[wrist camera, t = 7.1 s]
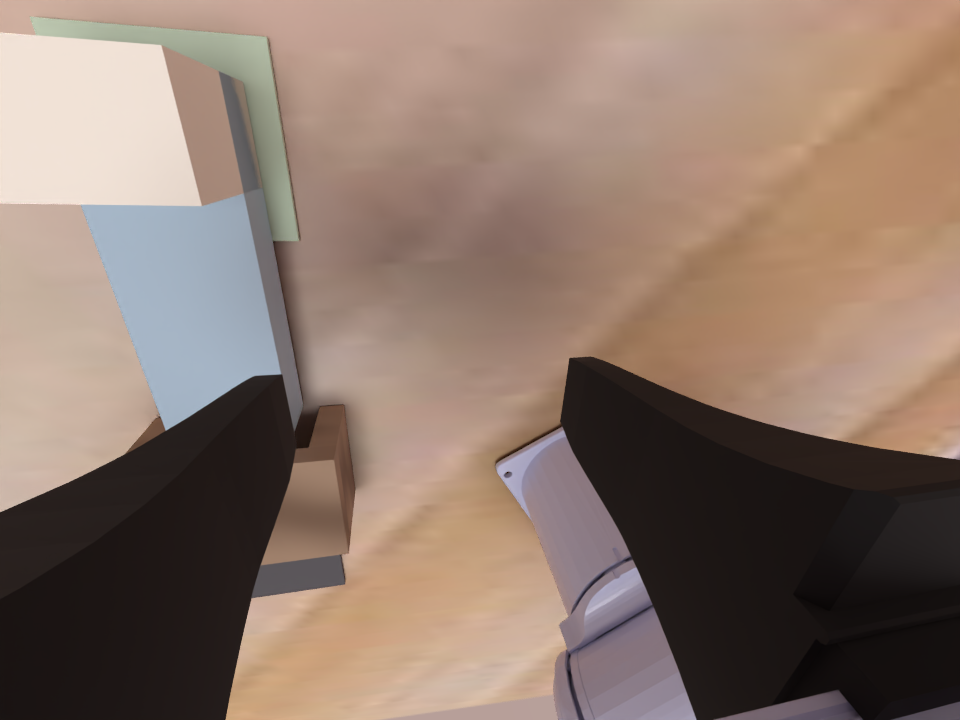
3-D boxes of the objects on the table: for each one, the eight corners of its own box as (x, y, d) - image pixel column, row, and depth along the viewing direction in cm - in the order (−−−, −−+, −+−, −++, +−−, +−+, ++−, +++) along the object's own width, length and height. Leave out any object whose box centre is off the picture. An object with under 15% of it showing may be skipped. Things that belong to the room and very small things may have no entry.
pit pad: (345, 580, 28) (345, 584, 28) (248, 595, 27) (247, 598, 26) (334, 516, 25) (334, 519, 25) (226, 529, 24) (225, 533, 24)
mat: (299, 240, 18) (298, 241, 18) (114, 240, 16) (110, 241, 16) (268, 38, 15) (266, 36, 14) (35, 19, 13) (29, 16, 13)
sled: (303, 405, 21) (274, 491, 16) (193, 413, 20) (124, 507, 15) (243, 81, 15) (161, 44, 9) (80, 71, 14) (-109, 23, 9)
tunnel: (355, 489, 24) (348, 553, 21) (190, 507, 23) (150, 580, 19) (343, 404, 22) (333, 459, 18) (156, 417, 20) (101, 481, 16)
